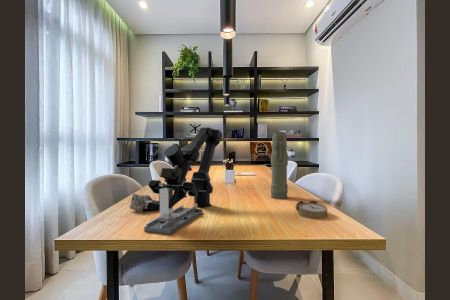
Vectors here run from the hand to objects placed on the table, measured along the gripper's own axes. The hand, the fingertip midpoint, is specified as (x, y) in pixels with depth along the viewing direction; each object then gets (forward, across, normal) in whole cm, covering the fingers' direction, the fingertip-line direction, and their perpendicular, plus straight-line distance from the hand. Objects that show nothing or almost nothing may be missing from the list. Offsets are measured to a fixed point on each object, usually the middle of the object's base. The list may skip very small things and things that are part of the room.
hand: (164, 207), depth 87 cm
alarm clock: (-18, +50, +28) cm, 60 cm away
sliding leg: (+2, +2, +4) cm, 5 cm away
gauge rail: (0, +2, +9) cm, 9 cm away
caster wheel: (-7, -19, +16) cm, 26 cm away
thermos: (-37, +34, +46) cm, 68 cm away
